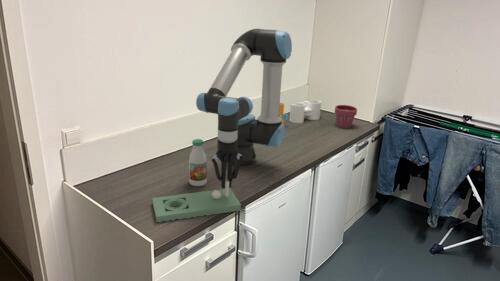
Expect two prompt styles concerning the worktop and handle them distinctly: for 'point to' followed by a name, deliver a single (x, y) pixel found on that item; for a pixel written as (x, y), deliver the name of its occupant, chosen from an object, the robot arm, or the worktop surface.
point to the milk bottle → (197, 164)
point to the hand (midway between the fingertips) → (226, 194)
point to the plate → (193, 205)
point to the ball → (216, 194)
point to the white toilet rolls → (305, 111)
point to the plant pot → (345, 115)
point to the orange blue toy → (281, 115)
